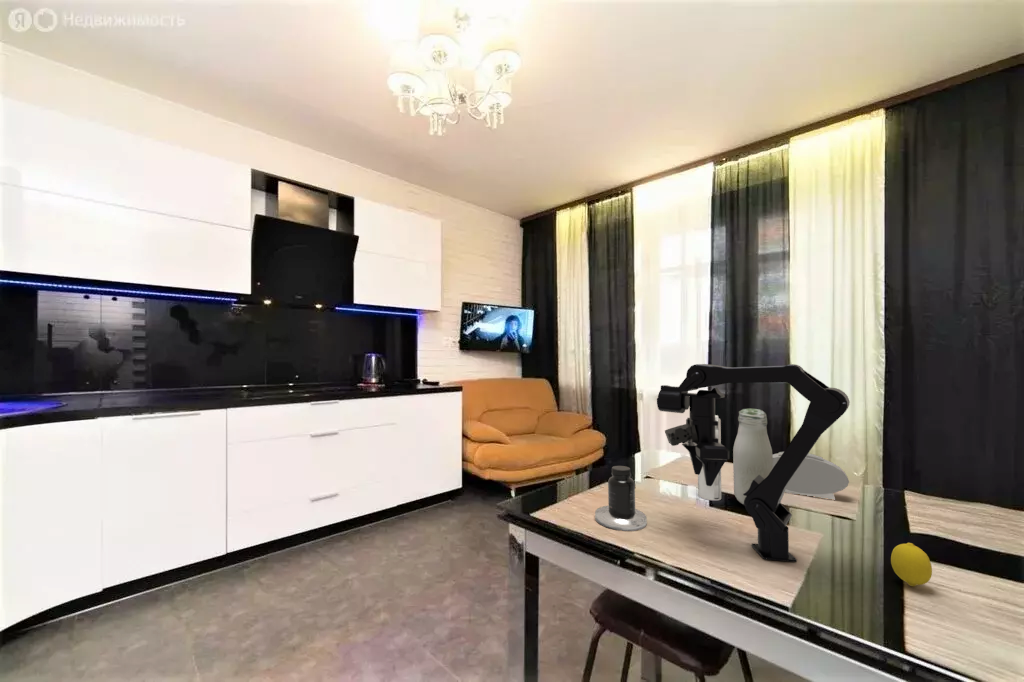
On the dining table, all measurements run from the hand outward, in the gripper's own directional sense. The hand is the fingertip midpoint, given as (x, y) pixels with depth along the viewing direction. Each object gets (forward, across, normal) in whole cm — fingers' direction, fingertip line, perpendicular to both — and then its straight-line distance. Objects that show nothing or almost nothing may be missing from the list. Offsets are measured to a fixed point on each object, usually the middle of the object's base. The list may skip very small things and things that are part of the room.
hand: (702, 479), depth 99 cm
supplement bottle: (+12, -5, -19) cm, 23 cm away
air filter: (+13, -28, +10) cm, 33 cm away
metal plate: (+13, -5, -19) cm, 24 cm away
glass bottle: (+13, -22, +20) cm, 33 cm away
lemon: (+13, +17, +32) cm, 39 cm away
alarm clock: (+13, -37, +40) cm, 56 cm away
